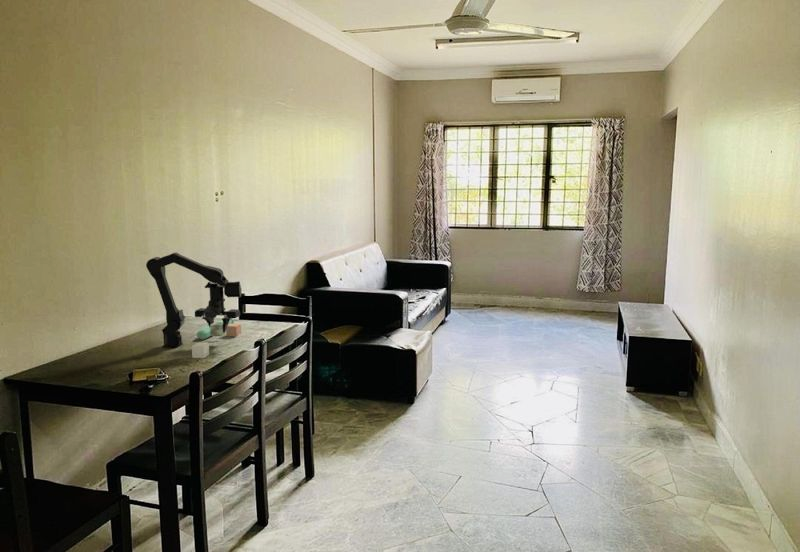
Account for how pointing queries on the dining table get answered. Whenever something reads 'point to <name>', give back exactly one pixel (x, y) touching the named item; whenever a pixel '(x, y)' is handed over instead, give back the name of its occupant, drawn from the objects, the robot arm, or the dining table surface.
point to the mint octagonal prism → (208, 331)
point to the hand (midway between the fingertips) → (218, 332)
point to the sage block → (217, 329)
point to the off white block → (200, 350)
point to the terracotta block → (233, 329)
